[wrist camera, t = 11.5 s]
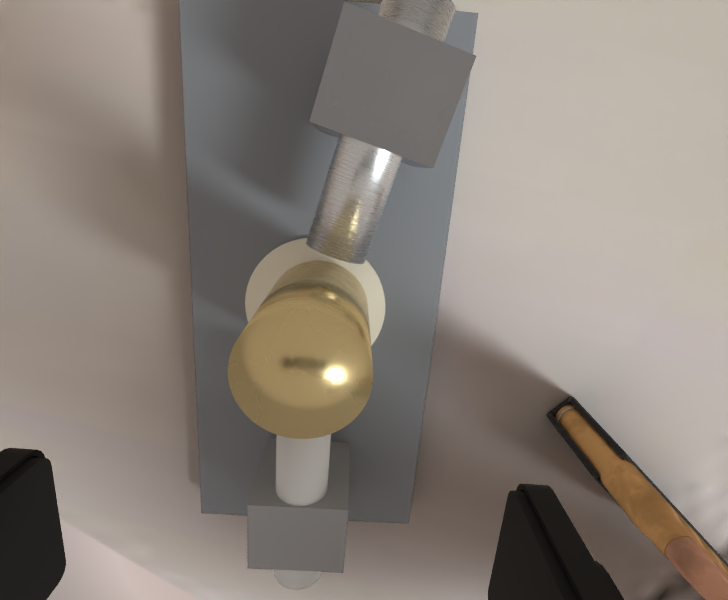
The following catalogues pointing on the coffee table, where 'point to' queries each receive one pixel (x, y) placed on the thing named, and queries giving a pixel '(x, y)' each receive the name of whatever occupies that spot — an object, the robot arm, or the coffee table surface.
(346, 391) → the tan rounded cylinder
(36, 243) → the coffee table surface
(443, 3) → the grey block on rod
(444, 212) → the shaft rig
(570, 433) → the ammunition clip
